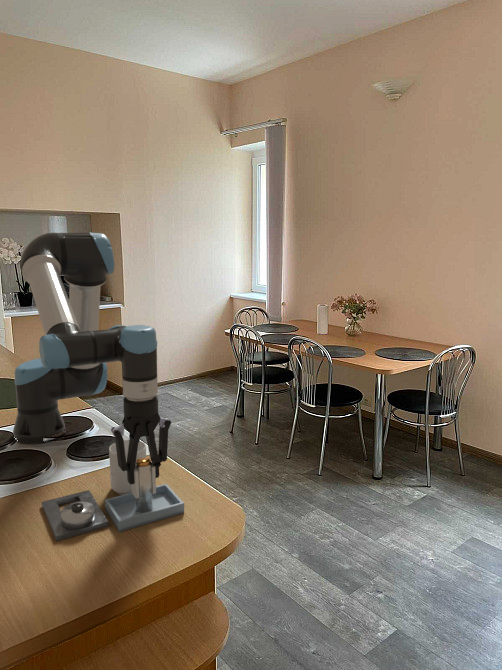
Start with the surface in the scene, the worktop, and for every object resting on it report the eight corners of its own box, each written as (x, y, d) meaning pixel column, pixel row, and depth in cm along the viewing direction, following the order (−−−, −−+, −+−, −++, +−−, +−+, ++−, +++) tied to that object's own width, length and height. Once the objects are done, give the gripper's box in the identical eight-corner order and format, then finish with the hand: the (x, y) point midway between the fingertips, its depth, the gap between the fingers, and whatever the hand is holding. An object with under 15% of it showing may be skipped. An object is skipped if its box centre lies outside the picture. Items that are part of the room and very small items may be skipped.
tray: (119, 532, 114) (119, 521, 114) (105, 509, 123) (104, 499, 123) (184, 512, 122) (184, 503, 122) (166, 492, 131) (166, 483, 130)
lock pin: (133, 506, 123) (132, 459, 121) (149, 502, 125) (148, 455, 123) (139, 513, 120) (137, 465, 117) (155, 509, 122) (154, 462, 119)
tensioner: (41, 506, 124) (40, 488, 123) (89, 494, 130) (88, 477, 129) (56, 541, 111) (55, 521, 110) (108, 526, 116) (107, 507, 115)
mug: (150, 493, 131) (148, 451, 128) (113, 499, 128) (111, 456, 125) (142, 472, 142) (140, 433, 139) (108, 477, 139) (106, 437, 136)
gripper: (108, 407, 109) (113, 510, 114) (181, 394, 118) (183, 491, 123) (98, 397, 116) (103, 495, 121) (168, 385, 124) (170, 478, 129)
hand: (144, 493), depth 122 cm, fingers closed on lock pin, 3 cm apart
